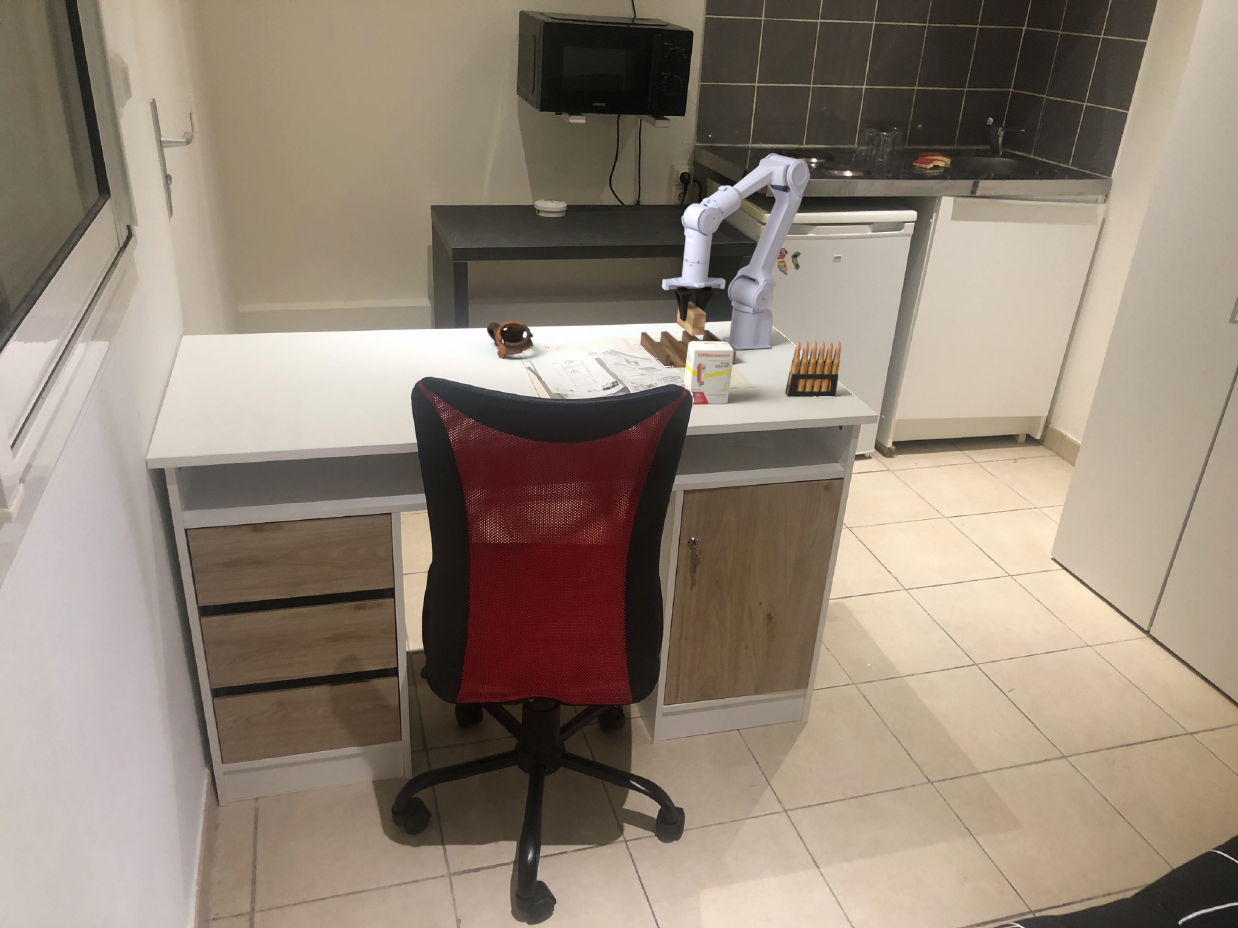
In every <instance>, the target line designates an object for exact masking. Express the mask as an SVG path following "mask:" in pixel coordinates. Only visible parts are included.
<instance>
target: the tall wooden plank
mask: <svg viewBox="0 0 1238 928" xmlns="http://www.w3.org/2000/svg"><path fill="white" fill-rule="evenodd" d="M706 319H707V313H706V312H705V310H704V311H702V310H701V309H700V308H698V307H697V306H696V303H693V302H692V301H689V303H688V308H687V318H686V321H682V320H681V319H680V314H679V307H678V308H677V317H676V324H677V325H678V326H680V327H681V328H682V329H683V331H687V332H688V333H689V334H690V335H695V336H703V335H704V330H706V329H705V328H706V327H705V326H706V321H707V320H706Z"/></svg>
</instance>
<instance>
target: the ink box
mask: <svg viewBox="0 0 1238 928" xmlns="http://www.w3.org/2000/svg"><path fill="white" fill-rule="evenodd" d="M734 351H735V349H734V348H733V347H732V346H730V344H729V343H728V342H725V341H723V342H717V341H715V342H714V341H691V342H689V344H688V352H687V360H686V367H684V369H685V370H684V377H683V385H684V386H686V387H688V389H690V390H691V392H692V393H693V397H694V404H693V405H721V404H723V405H726V404H728V401H729V393H730V385H731V379H732V372H733V371H732V369H733V365H734V364H733V356H734ZM732 364H733V365H732Z"/></svg>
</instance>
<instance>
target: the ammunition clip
mask: <svg viewBox="0 0 1238 928" xmlns="http://www.w3.org/2000/svg"><path fill="white" fill-rule="evenodd" d="M809 344H810V343H809V341H808V340H807V341H806V342H805V344H804V346H803V349H802V348H801V347H802V346H801V341H800V340H798V341H797V343H796V345H795V348H794V352H793V356H792V359H791V365H790V370H789V372H788V373H789V374H788V378H787V383H786V387H785V392H784V394H785V395H786V397H788V398H789V397H790V398H792V397H793V398H796V397H798V398H799V397H800V398H801V397H802V398H806V397H807V398H810V397H811V398H814V397H813V396H816V397H815V398H820V397H819V396H835V395H836V396H837V390H838V382H839V369H840V363H841V351H842V346H841V345H842V344H841V341H838V342H837V344H836V347H835V349H834V343H833V341H832V340H831V341H830V342H829V345H828V347H827V350H826V343H825V341H822V342H821V343H820V347H819V349H818V344H817V341H816V340H815V341H814V342H813V344H812V347H811V349H810V345H809ZM801 349H802V354H801ZM809 350H810V351H809ZM825 351H826V352H825ZM809 352H810V354H809ZM817 352H818V354H817ZM833 352H834V354H833ZM825 353H826V354H825ZM800 357H801V358H800ZM836 396H835V397H836Z"/></svg>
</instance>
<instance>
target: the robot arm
mask: <svg viewBox="0 0 1238 928" xmlns="http://www.w3.org/2000/svg"><path fill="white" fill-rule="evenodd" d="M810 178H811V173H810V170H809V166H808V163H807V162H806V161H805V160H804V159H801V158H798V159H797V158H793V157H789V156H785V155H780V154H778V153H774V152H773V153H769V154H768V155H767V156H765V157H764V158H762V159H760V161H759V164H758V166H757V167H756V168H754V169H753V170H752V171H751V172H750V173H749V172H748V174H747V175H746V176H744V177H743V178H742V179H741V180H739V181H738V182H737V183H736V184H734V185H733V186H731V185H721V186H719V187H718V188H717V189H718V190H717V191H716V192H714V193H713V194H711V195H710V196H708V197H705V198H703V199H702V201H701V202H700V203H691V204H690V205H689V206H687V208H686V209H685V210H684V213H683V215H682V216H681V223H682V226H683V228H684V232H683V234H684V236H685V240H684V242H685V243H684V251H683V261H682V271H681V277H673V278H663V279H662V284H661V288H662V289H663V290H664V291H669V290H672V291H673V294H674V296H675V298H676V303H677V306H678V307H679V314H680V319H681V320H682V321H686V318H687V308H688V303H689V302H690V299H691V296H692V294H691V293H690V292H689V290H688V289H695V305H696V306H697V307H698V308H700V309H701V310H702V311H704V312H705V309H706V307H707V305H708V304H709V302H710V300H711V299H712V298H713V296H714V293H715V292H714V290H713V289H723V290H725V288H726V279H724V278H722V277H708V275H709V267H710V258H711V257H710V256H711V247H712V240H713V233H716V232H717V230H718V228H719V227H720V224H721V223H722V222H723V220H724V219H726V218H727V217H728V216H730V215H731V214H733V213H734V212H735V211H737V210H739V209H740V207H741V204H742V200H745V199H746V198H748V197H749V196H751V195H753V194H754V193H756V192H758V191H759V190H760V189H762V188H765V186H768V188H769V189H770V191H771V193H772V194H773V196H774V198H775V202H774V204H773V206H772V209H771V211H770V214H769V216H768V219H767V221H766V224H765V226H764V228H763V230H762V232H761V233H762V234H761V235H760V238H759V240H758V242H757V245H756V247H755V250H754V252H753V253H752V257H751V259H750V261H749V264H747V265H746V266H744V267H742V268H740V269H739V270H738V271H737V274H736V275H735V277H734V278H732V280H731V282H730V283H729V285H728V288H727V295H728V298H729V300H730V301H731V303H730V305H731V306H732V312H731V314H732V315H731V322H730V327H729V329H730V330H729V336H724V337H722V339H721V340H722V341H723V342H728V343H729V344H730V346H731V347H732V348H733V349H734V350H753V349H757V350H759V349H771V348H772V346H771V338H772V330H773V326H774V325H773V323H774V318H773V313H772V310H771V309H770V308H769V307H770V305H771V304H772V300H773V297H774V296H773V295H774V289H775V287H776V282H775V279H774V278H773V276H772V271H773V269H774V266H775V264H776V261H777V259H778V257H779V254H780V253H781V250H782V247H783V245H784V244H785V241H786V238H787V236H788V233H789V232H790V231H789V230H790V229H791V226H792V224H793V222H794V220H795V217H796V215H797V212H798V210H799V208H800V206H801V202H802V199H803V196H804V193H805V189H806V187H807V185H808V182H809V180H810ZM754 280H755V281H754Z"/></svg>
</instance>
